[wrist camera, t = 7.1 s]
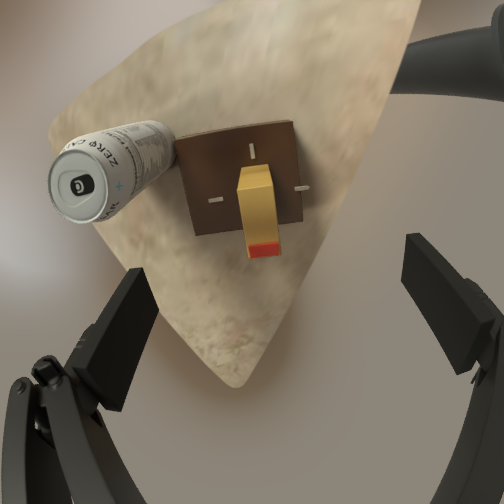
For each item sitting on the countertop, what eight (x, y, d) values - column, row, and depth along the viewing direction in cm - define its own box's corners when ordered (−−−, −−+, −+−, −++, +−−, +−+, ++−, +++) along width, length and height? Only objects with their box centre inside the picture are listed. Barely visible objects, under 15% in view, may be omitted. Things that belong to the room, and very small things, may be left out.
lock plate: (297, 118, 27) (302, 120, 24) (307, 221, 32) (312, 233, 29) (181, 136, 28) (173, 140, 25) (202, 235, 33) (198, 248, 30)
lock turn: (241, 167, 26) (236, 190, 19) (268, 163, 26) (273, 185, 19) (249, 221, 29) (248, 261, 22) (275, 218, 29) (281, 256, 22)
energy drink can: (121, 128, 27) (31, 156, 14) (173, 113, 26) (103, 125, 13) (133, 179, 30) (57, 239, 16) (184, 168, 29) (129, 224, 16)
